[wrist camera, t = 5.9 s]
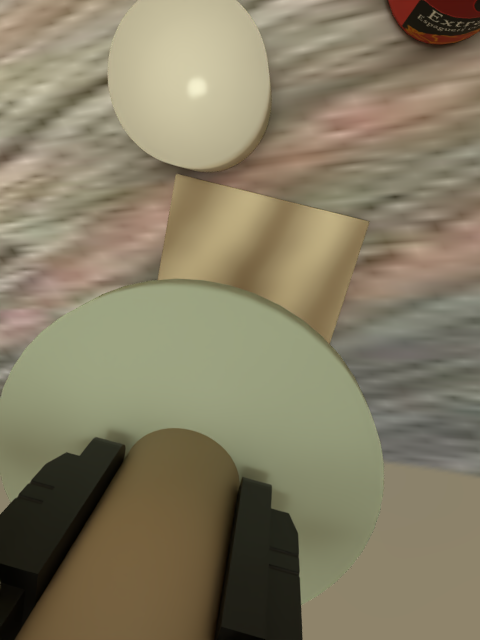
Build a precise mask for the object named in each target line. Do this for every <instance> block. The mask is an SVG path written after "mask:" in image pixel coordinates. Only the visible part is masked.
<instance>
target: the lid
mask: <svg viewBox="0 0 480 640" xmlns="http://www.w3.org/2000/svg"><path fill="white" fill-rule="evenodd" d="M95 437H98V438H102V439H106V440H109V441H113V442H117V443H121V444H124V445H125V447H126V450H125V457H124V461H123V463H122V464H121V466H120V468H119V469H118V471H117V473H116V474H115V476H114V477H113V479H112V481H111V482H110V484H109V486H108V487H107V489H106V491H105V492H104V494H103V495H102V497H101V499H100V500H99V502H98V504H97V505H96V507H95V509H94V510H93V512H92V514H91V515H90V517H89V518H88V520H87V522H86V523H85V525H84V527H83V528H82V530H81V532H80V533H79V535H78V536H77V538H76V540H75V541H74V543H73V545H72V546H71V548H70V550H69V551H68V553H67V555H66V556H65V558H64V559H63V561H62V563H61V564H60V566H59V568H58V569H57V571H56V573H55V574H54V576H53V577H52V579H51V581H50V582H49V584H48V586H47V587H46V589H45V591H44V592H43V594H42V596H41V597H40V599H39V600H38V602H37V604H36V605H35V607H34V609H33V610H32V612H31V614H30V615H29V617H28V618H27V620H26V622H25V623H24V625H23V627H22V628H21V630H20V632H19V633H18V635H17V636H16V638H15V640H214V638H215V632H216V626H217V620H218V613H219V607H220V601H221V594H222V588H223V582H224V576H225V569H226V563H227V557H228V551H229V544H230V538H231V532H232V526H233V519H234V513H235V507H236V501H237V494H238V490H239V486H240V483H241V480H242V477H245V478H249V479H252V480H256V481H260V482H263V483H267V484H271V485H272V500H271V508H272V509H275V510H279V511H283V512H286V513H289V515H290V517H291V519H292V521H293V523H294V525H295V527H296V530H297V532H298V540H299V557H298V558H299V566H300V573H299V577H300V592H301V605H302V604H304V603H306V602H308V601H310V600H311V599H313V598H315V597H317V596H318V595H320V594H321V593H322V592H324V591H325V590H326V589H327V588H329V587H330V586H332V585H333V584H334V583H335V582H336V581H338V580H339V578H341V577H342V576H343V575H344V573H346V572H347V570H349V568H351V566H352V565H353V564H354V562H355V561H356V560H357V558H358V557H359V556H360V554H361V553H362V552H363V550H364V548H365V546H366V544H367V542H368V540H369V539H370V537H371V535H372V533H373V530H374V528H375V525H376V522H377V519H378V516H379V513H380V508H381V502H382V497H383V491H384V463H383V457H382V450H381V443H380V440H379V437H378V434H377V430H376V427H375V424H374V421H373V418H372V415H371V413H370V410H369V408H368V405H367V403H366V400H365V398H364V396H363V394H362V392H361V389H360V387H359V385H358V383H357V381H356V379H355V377H354V375H353V374H352V373H351V371H350V370H349V368H348V367H347V365H346V364H345V362H344V361H343V359H342V358H341V356H340V355H339V354H338V353H337V352H336V351H335V350H334V349H333V347H332V346H331V345H330V344H329V343H328V342H327V341H326V340H325V339H324V337H323V336H321V335H320V334H319V333H318V332H317V331H315V330H314V329H313V328H312V327H311V326H310V325H308V324H307V323H306V322H305V321H304V320H302V319H301V318H299V317H298V316H296V315H295V314H293V313H291V312H290V311H288V310H287V309H285V308H284V307H282V306H281V305H279V304H276V303H274V302H272V301H270V300H268V299H266V298H264V297H262V296H260V295H257V294H255V293H252V292H249V291H246V290H243V289H240V288H237V287H234V286H231V285H226V284H221V283H216V282H210V281H205V280H192V279H164V280H151V281H146V282H141V283H137V284H132V285H127V286H124V287H121V288H118V289H116V290H113V291H110V292H108V293H105V294H102V295H101V296H99V297H97V298H95V299H93V300H91V301H89V302H88V303H86V304H84V305H82V306H80V307H78V308H76V309H75V310H73V311H71V312H69V313H67V314H65V315H64V316H62V317H60V318H59V319H58V320H56V321H55V322H54V323H52V324H51V325H50V326H49V327H47V328H46V329H45V330H43V331H42V332H41V333H40V334H39V335H38V336H37V337H36V338H35V339H34V340H33V341H32V342H31V344H30V345H29V346H28V347H27V348H26V349H25V350H24V352H23V353H22V355H21V356H20V358H19V359H18V361H17V362H16V363H15V365H14V366H13V368H12V370H11V372H10V374H9V377H8V379H7V381H6V383H5V385H4V387H3V391H2V394H1V398H0V476H1V479H2V482H3V486H4V489H5V492H6V494H7V496H8V498H9V500H10V503H11V502H12V501H13V500H14V499H15V498H17V497H18V495H19V493H20V492H21V491H22V490H23V489H24V488H25V486H26V485H27V484H30V482H31V480H32V479H33V477H34V476H35V475H36V474H37V473H38V472H39V471H40V470H41V468H42V467H43V466H44V465H45V464H46V463H48V462H50V461H51V460H53V459H55V458H57V457H59V456H60V455H62V454H64V453H66V452H67V453H71V454H75V455H78V456H80V454H81V453H82V452H83V451H84V449H85V448H86V447H87V446H88V444H89V443H90V442H91V441H92V439H93V438H95Z"/></svg>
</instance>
